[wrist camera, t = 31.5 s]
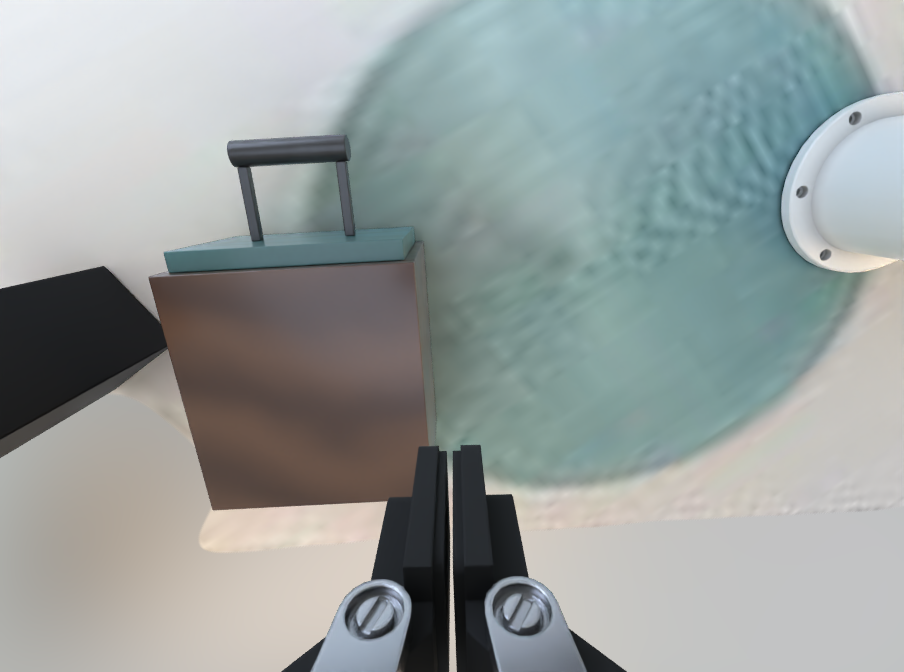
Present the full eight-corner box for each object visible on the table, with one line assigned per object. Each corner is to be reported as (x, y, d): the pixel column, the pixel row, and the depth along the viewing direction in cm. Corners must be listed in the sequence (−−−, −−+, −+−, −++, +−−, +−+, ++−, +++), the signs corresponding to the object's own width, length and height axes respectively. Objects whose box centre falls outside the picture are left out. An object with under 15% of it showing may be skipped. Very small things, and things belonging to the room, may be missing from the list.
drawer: (217, 151, 31) (133, 136, 23) (407, 140, 31) (392, 121, 23) (270, 408, 37) (220, 471, 29) (427, 400, 37) (422, 461, 29)
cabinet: (236, 251, 34) (147, 276, 24) (423, 240, 34) (414, 262, 24) (273, 427, 39) (212, 510, 29) (436, 419, 39) (433, 499, 29)
